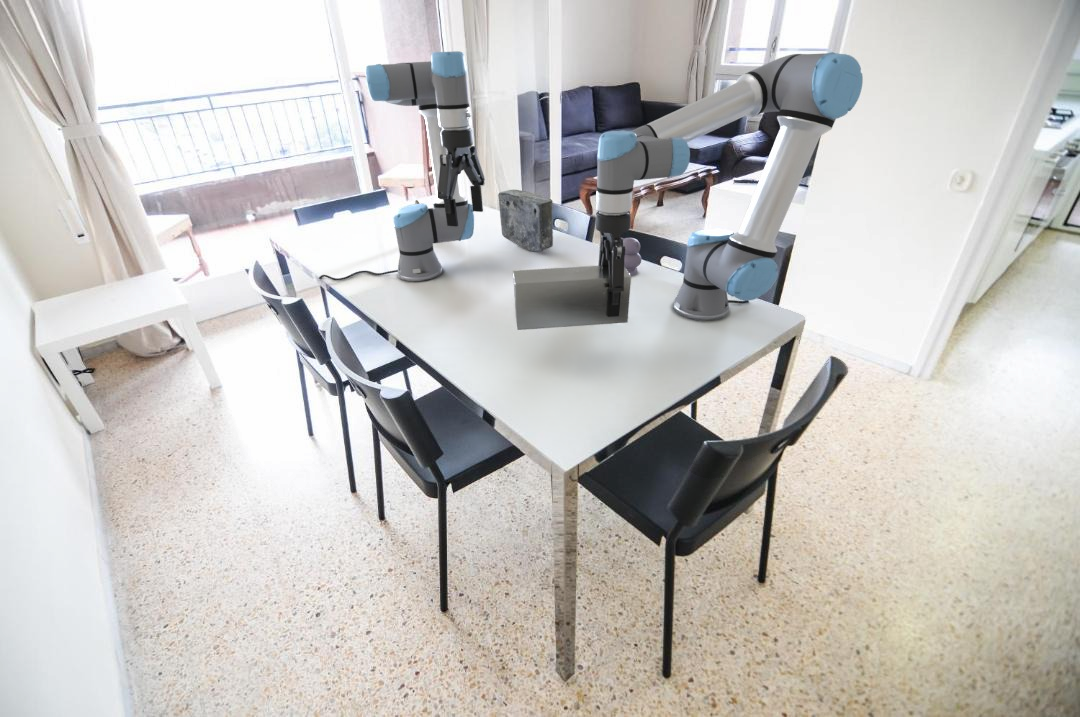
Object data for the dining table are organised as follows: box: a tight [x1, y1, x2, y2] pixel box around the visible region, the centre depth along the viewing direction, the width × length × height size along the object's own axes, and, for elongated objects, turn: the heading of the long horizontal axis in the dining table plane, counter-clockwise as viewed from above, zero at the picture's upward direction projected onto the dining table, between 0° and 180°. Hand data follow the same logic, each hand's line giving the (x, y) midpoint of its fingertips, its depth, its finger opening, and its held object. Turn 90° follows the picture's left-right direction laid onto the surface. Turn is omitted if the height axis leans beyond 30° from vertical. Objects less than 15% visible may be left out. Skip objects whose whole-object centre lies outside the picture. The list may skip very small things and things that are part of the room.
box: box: [512, 265, 632, 331], centre depth 115 cm, size 26×8×11 cm, turn 96°
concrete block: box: [497, 189, 554, 252], centre depth 191 cm, size 27×9×20 cm, turn 36°
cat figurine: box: [621, 237, 642, 277], centre depth 167 cm, size 9×8×12 cm
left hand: (465, 218), depth 128 cm, fingers open, 13 cm apart
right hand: (608, 307), depth 118 cm, fingers closed on box, 8 cm apart
